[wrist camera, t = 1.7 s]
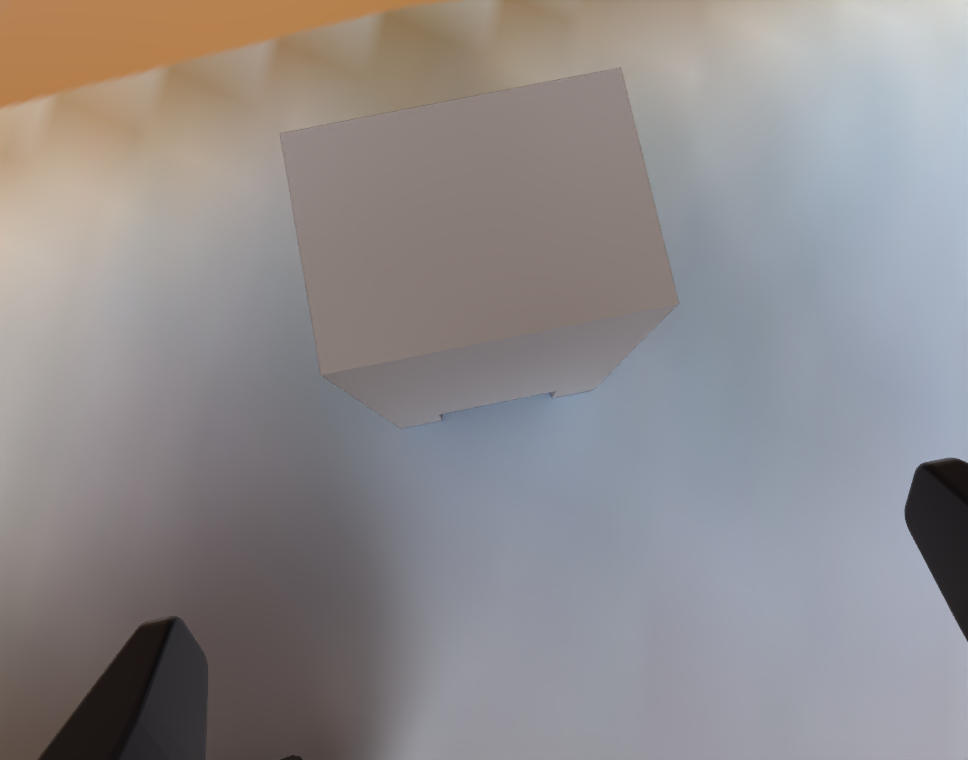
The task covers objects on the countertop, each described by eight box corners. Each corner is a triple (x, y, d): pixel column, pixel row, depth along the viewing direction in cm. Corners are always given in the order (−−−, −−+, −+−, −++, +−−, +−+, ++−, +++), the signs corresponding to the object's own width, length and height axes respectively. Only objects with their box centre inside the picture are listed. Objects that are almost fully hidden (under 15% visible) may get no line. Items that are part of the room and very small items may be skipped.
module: (593, 389, 21) (679, 303, 12) (400, 428, 21) (320, 374, 11) (560, 243, 22) (614, 42, 12) (373, 280, 22) (275, 107, 12)
